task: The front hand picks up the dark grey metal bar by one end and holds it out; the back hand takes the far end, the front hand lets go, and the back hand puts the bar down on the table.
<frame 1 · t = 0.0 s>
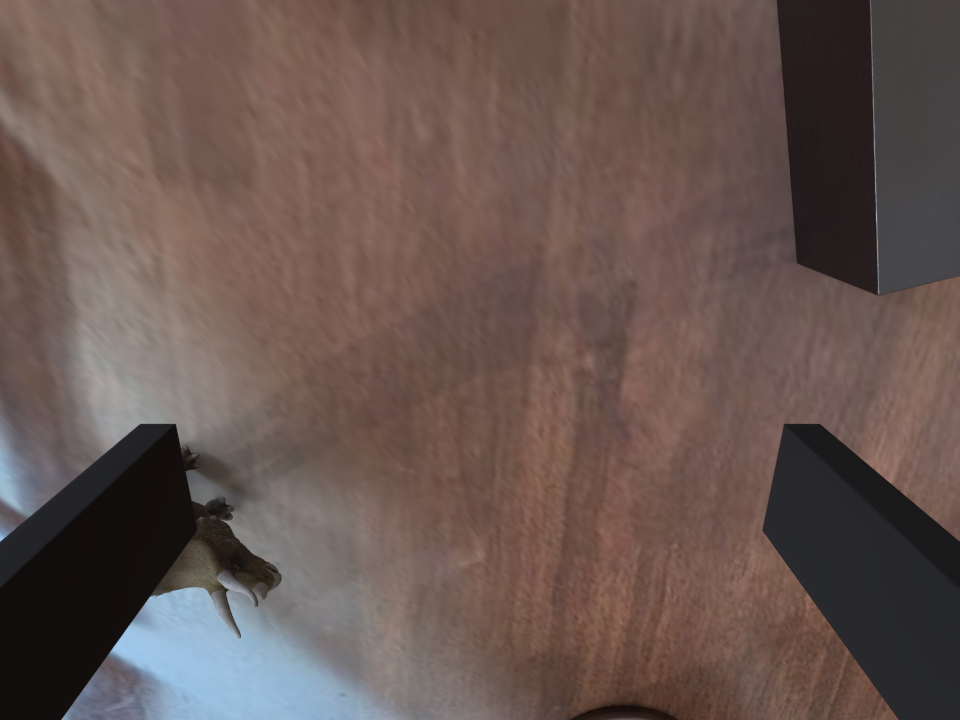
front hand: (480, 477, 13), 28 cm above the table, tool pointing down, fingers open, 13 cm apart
toy dinosaur: (164, 495, 46), on the table
bar: (826, 51, 35), on the table
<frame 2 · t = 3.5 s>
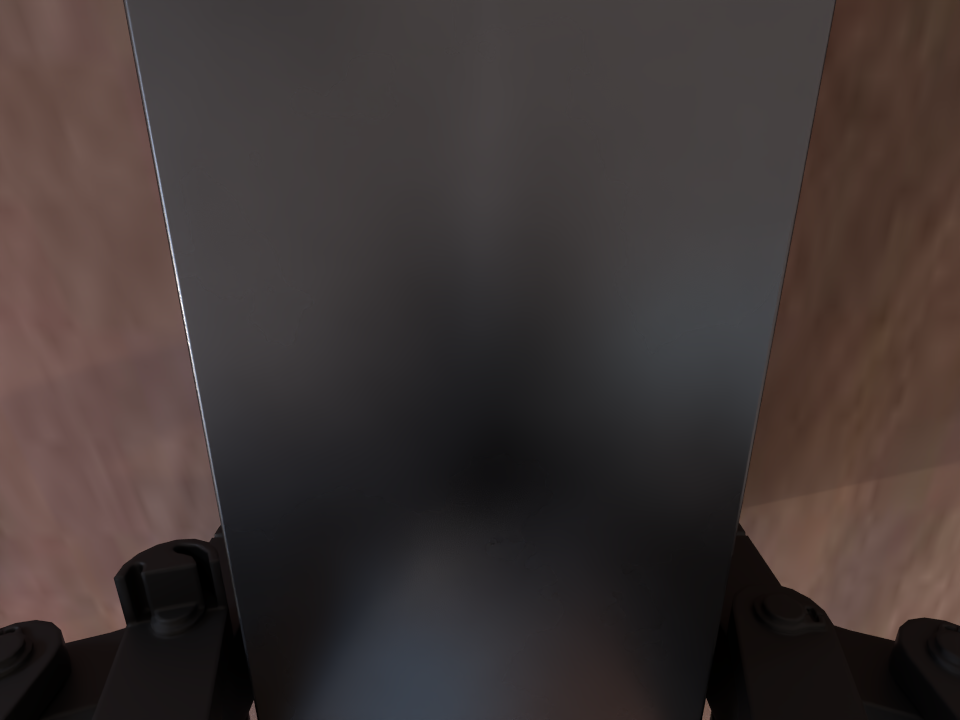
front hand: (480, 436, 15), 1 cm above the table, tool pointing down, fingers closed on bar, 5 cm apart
bar: (479, 50, 12), on the table, touching front hand
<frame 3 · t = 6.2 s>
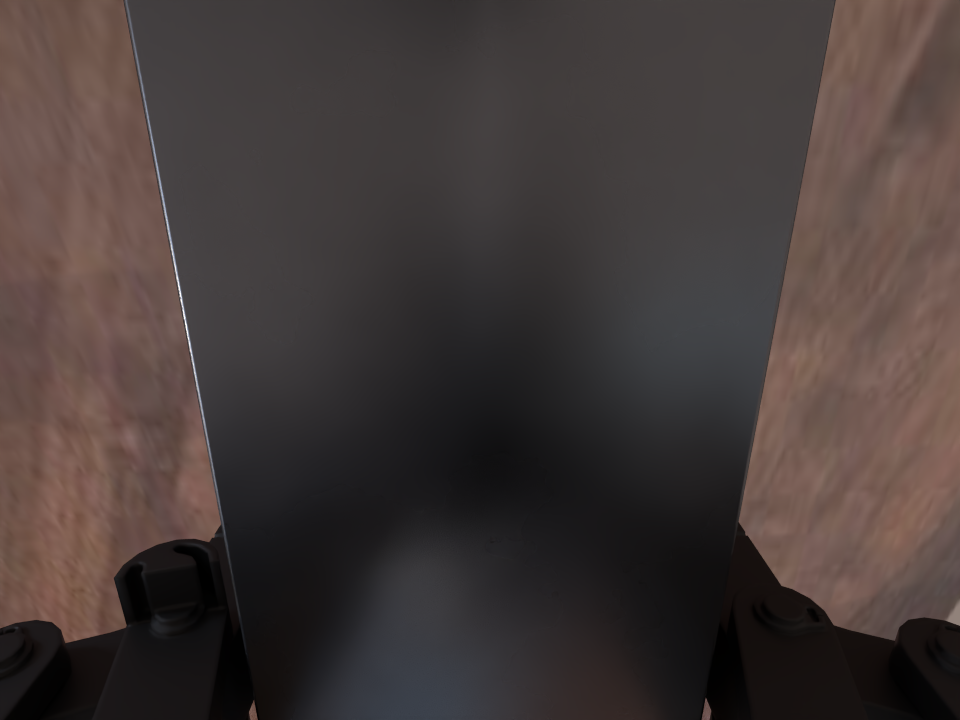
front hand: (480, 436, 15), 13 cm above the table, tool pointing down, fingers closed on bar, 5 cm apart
bar: (479, 49, 12), point 12 cm above the table, touching front hand
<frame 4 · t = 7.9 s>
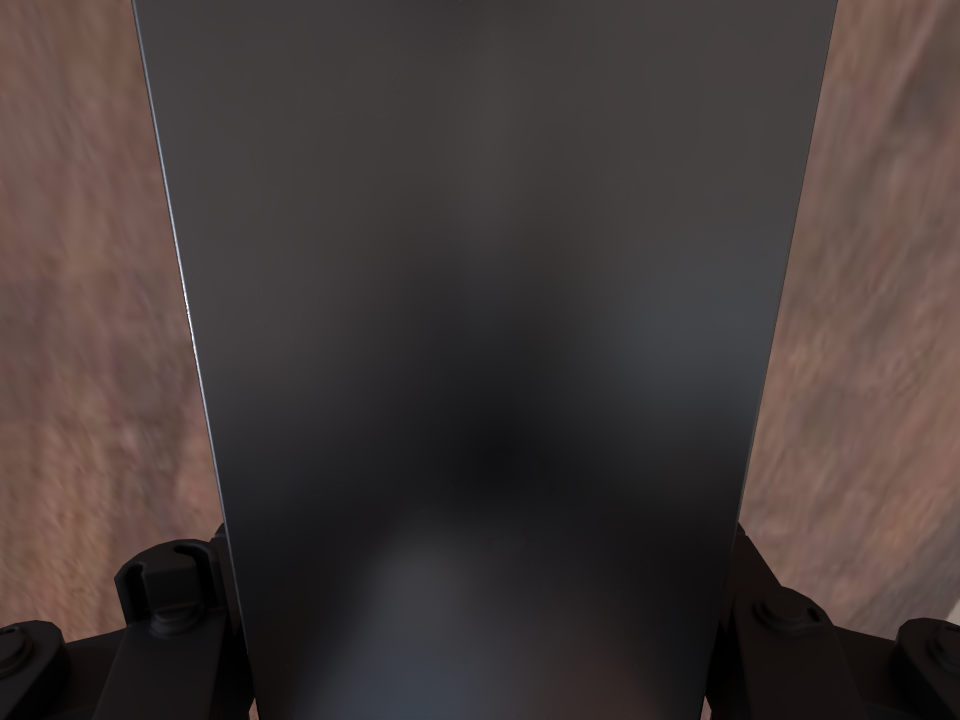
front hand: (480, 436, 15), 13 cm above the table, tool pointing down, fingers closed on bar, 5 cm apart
bar: (481, 50, 12), point 12 cm above the table, touching front hand, back hand
when the front hand's fingers open (13 cm above the table, at t = 8.7 s): bar stays where it is, held by the back hand.
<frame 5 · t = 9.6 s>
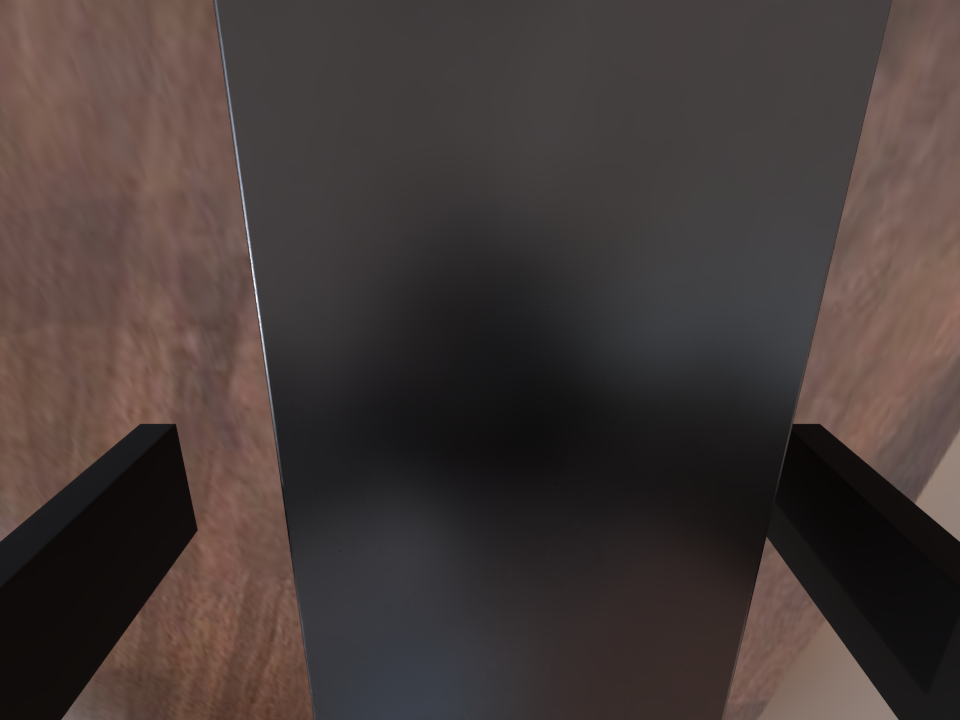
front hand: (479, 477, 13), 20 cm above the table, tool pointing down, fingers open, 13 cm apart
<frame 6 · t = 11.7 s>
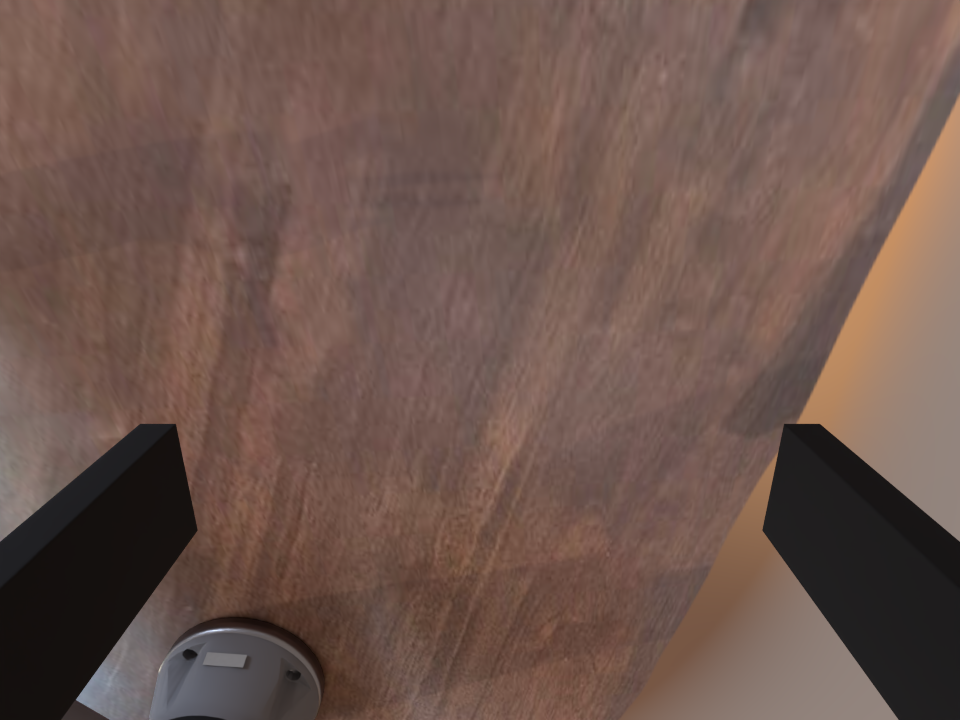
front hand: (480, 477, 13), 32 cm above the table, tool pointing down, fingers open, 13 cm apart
when the back hand's fingers open (5 cm above the table, at t = 16.0 s): bar drops 1 cm, on the table.
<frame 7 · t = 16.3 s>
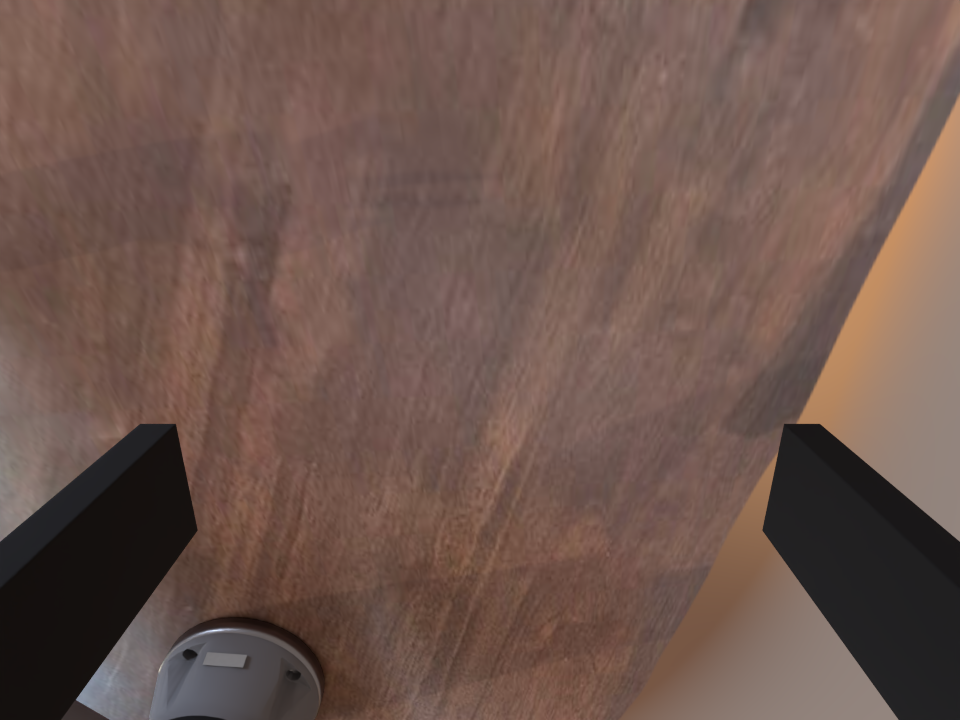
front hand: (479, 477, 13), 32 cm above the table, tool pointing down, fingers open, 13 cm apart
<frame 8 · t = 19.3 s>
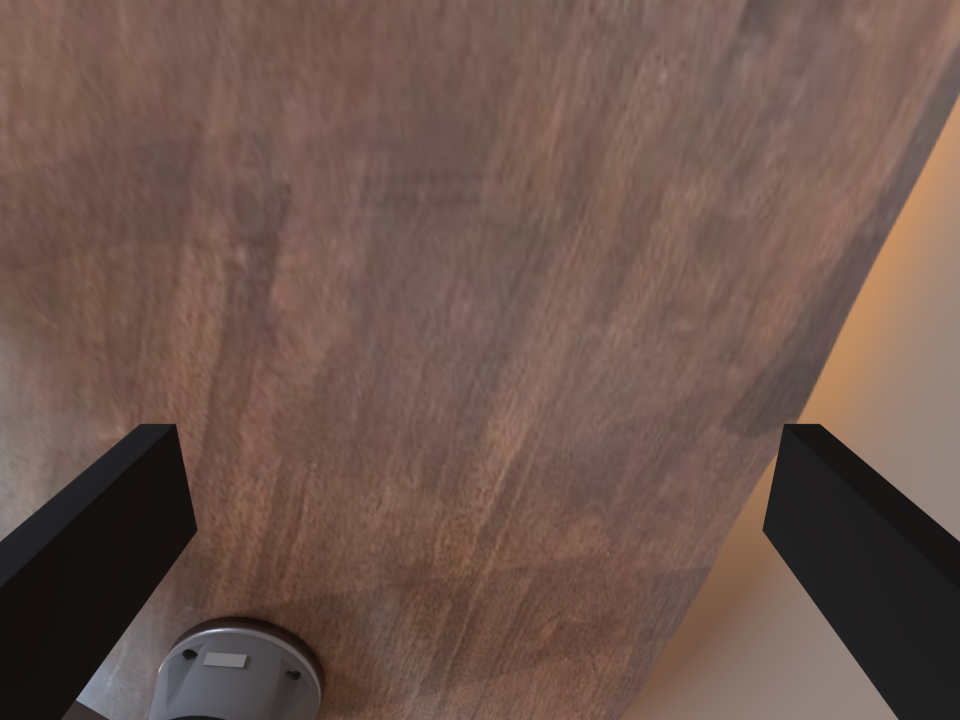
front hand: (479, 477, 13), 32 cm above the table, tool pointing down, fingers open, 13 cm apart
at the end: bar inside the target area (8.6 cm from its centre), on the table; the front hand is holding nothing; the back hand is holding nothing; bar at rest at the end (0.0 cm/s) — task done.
